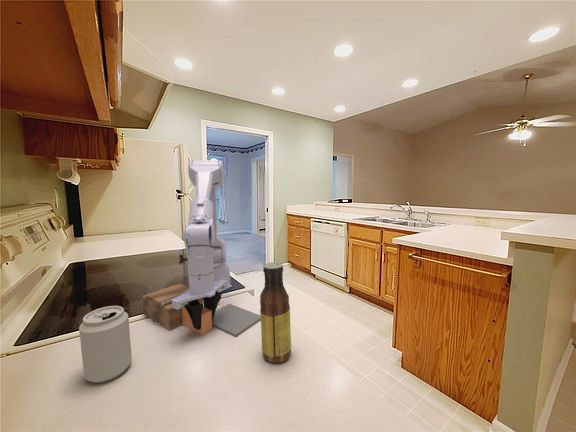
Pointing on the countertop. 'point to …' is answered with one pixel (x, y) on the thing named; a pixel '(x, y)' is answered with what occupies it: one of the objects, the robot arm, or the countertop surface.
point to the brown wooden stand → (164, 306)
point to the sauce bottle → (275, 315)
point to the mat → (234, 319)
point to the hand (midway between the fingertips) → (203, 324)
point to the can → (105, 343)
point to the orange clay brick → (205, 320)
